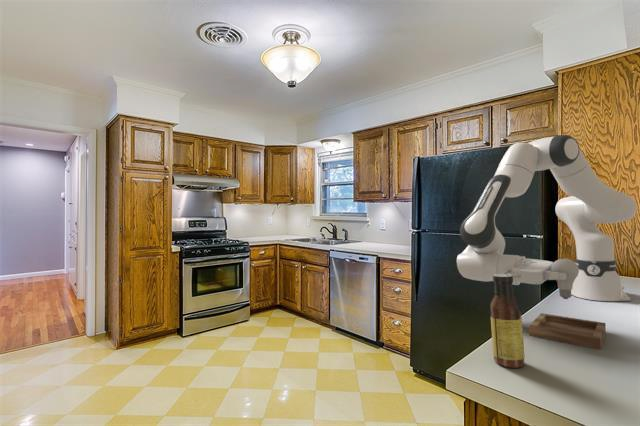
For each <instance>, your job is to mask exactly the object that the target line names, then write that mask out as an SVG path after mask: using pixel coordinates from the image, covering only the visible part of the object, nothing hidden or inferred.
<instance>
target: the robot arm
mask: <svg viewBox="0 0 640 426" xmlns="http://www.w3.org/2000/svg"><path fill="white" fill-rule="evenodd" d="M546 170H549V171H550V172H551V174H552V175H553V177H554V179H555V180H556V182H557V185H558V186H559V187H560V190H561V191H563V193H565V194H566V195H569V196H566V197H562V198H560V199H558V201H557V202H556V205H555V209H554V210H555V214H556V216H557V218H558V219H559V220H560V221H561V222H562V223H564V224H565V225H567V227H568V228H569V229H570V231H571V233H572V235H573V238H574V240H575V241H574V243H575V250H576V253H575V254H576V258H575V261H574V262H575V263H576V265H577V266H578V268H579V273H578V276H577V277H576V279H575V280H574V282H573V287H572V290H571V296H574V297H577V298H579V299H584V300H590V301H597V302H599V301H600V302H619V301H622V302H623V301H624V302H625V301H627V302H628V301H630V302H631V297H630V296H629V295H628V294H627V293H626V292H625V291H624V288H625V287H624V286H623V279H622V278H623V277H622V276H621V275H620V274H619V273H617V262H616V260H615V252H614V251H615V245H614V240H613V238H612V237H611V236H610V235H608V234H606V233H603V232H602V231H601V230H600V229H599V227H598V225H597V224H616V223H618V224H619V223H624V222H629V221H631V220H632V219H633V218H634V217H635V215H636V214H637V211H638V205H637V202H636V200H635V199H634V197H632V196H631V195H630V194H628V193H624V192H621V191H618V190H616V189H615V188H612V187H611V186H609V185H607V184H606V183H605V182H604V181H602V180H601V179H600V178H599V177H598V176H597V174H596V172H595V171H594V169H593V168H592V167H591V164H590V163H589V161H588V159H587V157H586V156H585V154H584V153H583V152H582V150H581V148H580V144H579V142H578V141H577V139H576V138H574V137H573V136H571V134H570V135H569V134H556V135H555V136H549V137H548V136H547V137H542V138H538V139H535V140H532V141H528V142H516V143H513V144H512V145H510V146H509V147H508V149H507V150H506V152H505V153H504V155H503V156H502V159H501V160H500V162H499V164H498V167H497V169H496V171H495V173H494V175H493V177H492V178H490V180H489V181H488V183H487V184H486V186H485V188H484V190H483V191H482V193H481V195H480V197H479V199H478V201H477V202H476V205H475V207H474V209H473V210H472V211H471V212H470V214H469V215H468V216H466V218H465V219H464V220H463V222H462V223H461V225H460V228H459V235H460V238H461V239H462V241H463V242H464V243H466V244H467V246H466V247H465V249H463V251H462V252H461V253H459V254H458V255H457V257H456V260H455V262H456V268H457V271H458V272H459V274H460V275H461V276H462V278H465V279H468V280H472V281H480V282H494V281H493V275H494V274H509V275H512V276H513V283H512V285H513V286H519V285H520V284H521V283H522V284H529V285H542V284H543V283H544V282H546V281H557V280H558V279H559V280H566V279H567V273H565V272H552V270H551V267H552V264H553V263H554V262H555V261H550V260H544V259H536V258H534V259H533V258H526V256H525V255H524V256H523V255H517V254H504V252H505V249H506V239H505V237H504V236H503V235H502V233H501V231H499V229H498V227H497V226H496V215H497V214H498V211H499V210H500V207H501V205H502V204H503V201H504V200H505V198H517V197H520V196H522V195H524V194H525V193H526V192H527V190H528V189H529V187H530V185H531V183H532V180H533V178H534V175H535V172H539V171H546Z"/></svg>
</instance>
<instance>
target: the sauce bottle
mask: <svg viewBox="0 0 640 426" xmlns="http://www.w3.org/2000/svg"><path fill="white" fill-rule="evenodd" d="M492 282H493V283H494V284H493V285H494V291H493V292H494V295H493V298H492V299H491V301H490V305H489V307H490V329H491V339H492V341H491V343H492V354H493V360H494V361H495V363H497V364H498V365H500V366H502V367H505V368H510V369H511V368H513V369H517V368H521V367H524V365H525V356H526V355H525V345H524V332H523V321H522V319H523V318H522V312H521V308H520V306H519V304H518V302H517V298H516V296H515V294H514V285H512V283H513V276H512V275H509V274H494V275H493V281H492Z"/></svg>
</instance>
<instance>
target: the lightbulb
mask: <svg viewBox="0 0 640 426" xmlns="http://www.w3.org/2000/svg"><path fill="white" fill-rule="evenodd" d="M553 262H554V263H553V264H552V267H551V270H552V272H565V273H567V279H566V280H559V279H558V280H556V283H557V288H558V290H559V297H561V298H562V299H564V300H568V299H569V298H571V297H572V295H571V290H572V287H573V282H574V280H575V279H576V277H577V276H578V273H579V268H578V266H577V265H576V263H575V261H573V260H571V259H569V258H559V259H557V260H555V261H553Z"/></svg>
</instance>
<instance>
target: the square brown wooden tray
mask: <svg viewBox="0 0 640 426" xmlns="http://www.w3.org/2000/svg"><path fill="white" fill-rule="evenodd" d="M606 333H607V332H606V322H601V321H595V320H589V319H582V318H575V317H568V316H563V315H555V314H549V313H540V314H539V315H538V316H537V317H536V318H535V319H534V320H533V321H532V322H531V324H530V325H528V335H529V336H531V337H536V338H540V337H541V339H545V338H546V340H551V339H552V340H551V341H556V340H557V341H558V342H561V341H562V343H566V342H567V343H568V344H571V343H572V344H573V345H576V344H577V345H578V346H581V345H583V346H582V347H586V346H588V347H587V348H591V347H592V348H593V349H597V350H601V348H602V345H603V342H604V339H605V336H606ZM557 341H556V342H557ZM577 345H576V346H577Z"/></svg>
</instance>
